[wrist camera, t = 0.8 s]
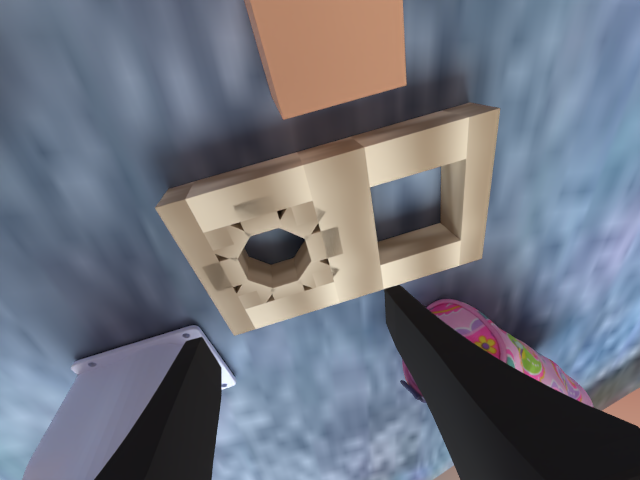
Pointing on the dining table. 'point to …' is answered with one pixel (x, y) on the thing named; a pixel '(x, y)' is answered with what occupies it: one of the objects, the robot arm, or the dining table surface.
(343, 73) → the peg
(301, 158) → the socket plate
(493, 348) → the pencil case
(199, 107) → the dining table surface
